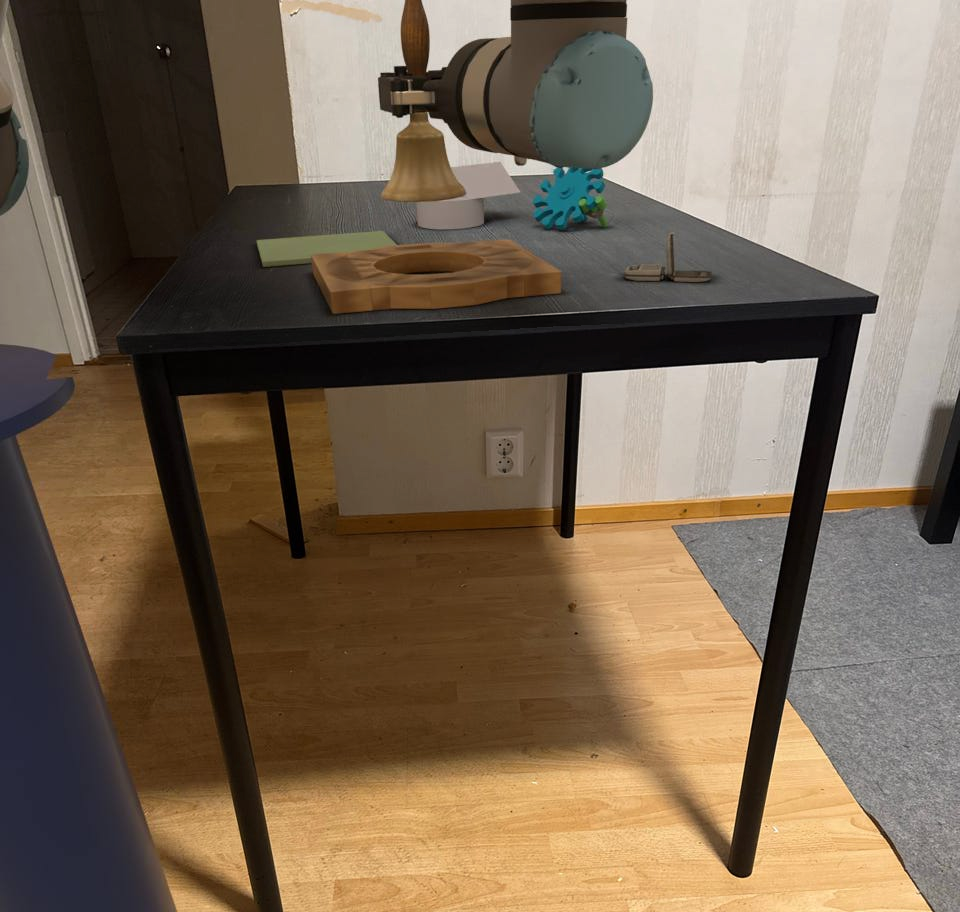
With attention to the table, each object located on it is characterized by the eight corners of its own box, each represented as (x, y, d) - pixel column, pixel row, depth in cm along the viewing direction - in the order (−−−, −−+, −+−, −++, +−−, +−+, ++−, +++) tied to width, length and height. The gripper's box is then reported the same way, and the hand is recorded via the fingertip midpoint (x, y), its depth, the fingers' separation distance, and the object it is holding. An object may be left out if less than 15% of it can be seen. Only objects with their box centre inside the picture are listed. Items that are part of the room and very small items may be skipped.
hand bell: (444, 187, 90) (433, -7, 81) (481, 196, 84) (473, -12, 75) (368, 196, 87) (348, -4, 78) (400, 206, 81) (382, -9, 72)
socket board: (334, 318, 79) (331, 295, 78) (311, 271, 96) (309, 252, 95) (566, 296, 83) (566, 274, 82) (505, 255, 100) (505, 236, 99)
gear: (516, 211, 115) (562, 146, 114) (537, 240, 120) (582, 178, 119) (572, 234, 109) (622, 165, 108) (592, 264, 114) (640, 199, 112)
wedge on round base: (482, 212, 126) (405, 223, 120) (480, 159, 122) (401, 168, 116) (520, 219, 120) (441, 231, 114) (520, 164, 116) (439, 173, 110)
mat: (263, 267, 99) (262, 261, 98) (257, 245, 110) (256, 240, 110) (403, 256, 102) (402, 250, 101) (383, 235, 113) (383, 230, 113)
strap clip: (623, 281, 88) (625, 235, 86) (626, 274, 91) (629, 229, 88) (710, 283, 86) (715, 236, 84) (711, 276, 89) (716, 230, 86)
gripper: (416, 160, 66) (327, 138, 84) (586, 147, 71) (468, 129, 89) (409, 40, 62) (317, 43, 80) (590, 35, 67) (466, 39, 85)
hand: (397, 88), depth 85 cm, fingers closed on hand bell, 2 cm apart
